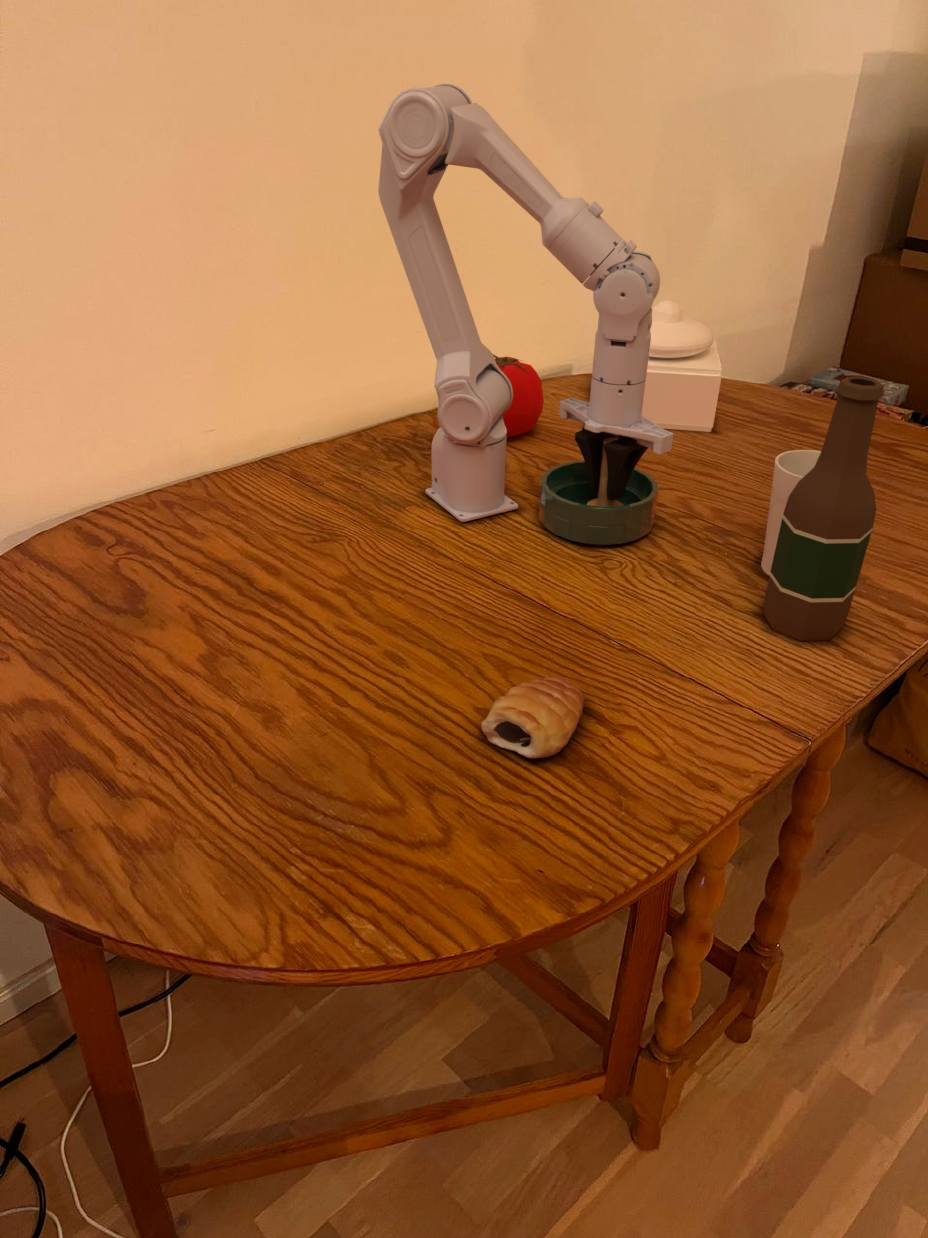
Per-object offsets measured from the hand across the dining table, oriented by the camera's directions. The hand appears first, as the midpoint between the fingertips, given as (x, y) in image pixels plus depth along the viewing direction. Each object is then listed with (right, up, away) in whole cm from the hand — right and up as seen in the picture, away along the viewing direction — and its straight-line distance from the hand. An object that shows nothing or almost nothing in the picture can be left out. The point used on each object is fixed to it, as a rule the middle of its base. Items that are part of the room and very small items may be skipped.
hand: (606, 493), depth 104 cm
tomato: (-11, +12, +26) cm, 31 cm away
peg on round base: (0, -2, +1) cm, 3 cm away
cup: (+19, -9, -6) cm, 22 cm away
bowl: (-1, -3, +2) cm, 4 cm away
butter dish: (+12, +18, +36) cm, 42 cm away
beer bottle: (+17, -15, -15) cm, 27 cm away
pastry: (-11, -24, -29) cm, 39 cm away
